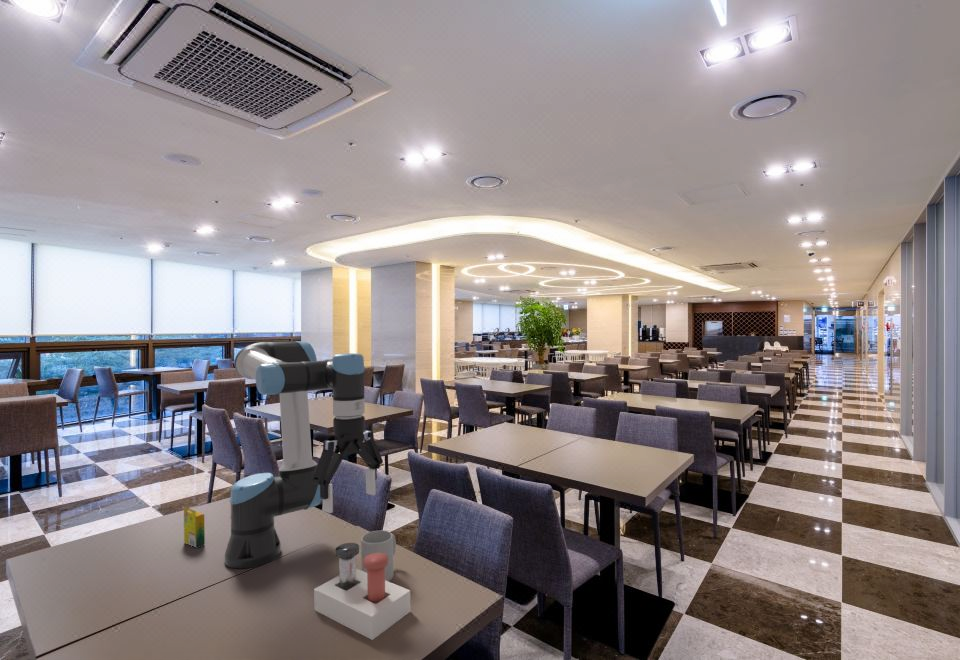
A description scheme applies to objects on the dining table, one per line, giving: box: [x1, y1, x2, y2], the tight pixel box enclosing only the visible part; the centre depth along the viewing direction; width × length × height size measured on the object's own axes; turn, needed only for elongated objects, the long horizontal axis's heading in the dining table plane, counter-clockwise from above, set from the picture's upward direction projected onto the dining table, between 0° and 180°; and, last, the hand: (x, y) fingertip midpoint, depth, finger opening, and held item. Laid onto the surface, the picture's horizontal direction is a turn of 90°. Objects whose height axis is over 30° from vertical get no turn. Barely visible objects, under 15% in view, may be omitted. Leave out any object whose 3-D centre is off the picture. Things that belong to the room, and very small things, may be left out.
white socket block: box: [313, 568, 412, 641], centre depth 109 cm, size 20×12×5 cm, turn 56°
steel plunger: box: [334, 542, 360, 590], centre depth 112 cm, size 6×6×9 cm
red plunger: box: [364, 553, 388, 603], centre depth 106 cm, size 6×6×9 cm
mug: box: [360, 529, 397, 582], centre depth 126 cm, size 12×8×11 cm
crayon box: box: [183, 506, 206, 548], centre depth 146 cm, size 7×3×12 cm, turn 58°
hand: (350, 502), depth 113 cm, fingers open, 13 cm apart
